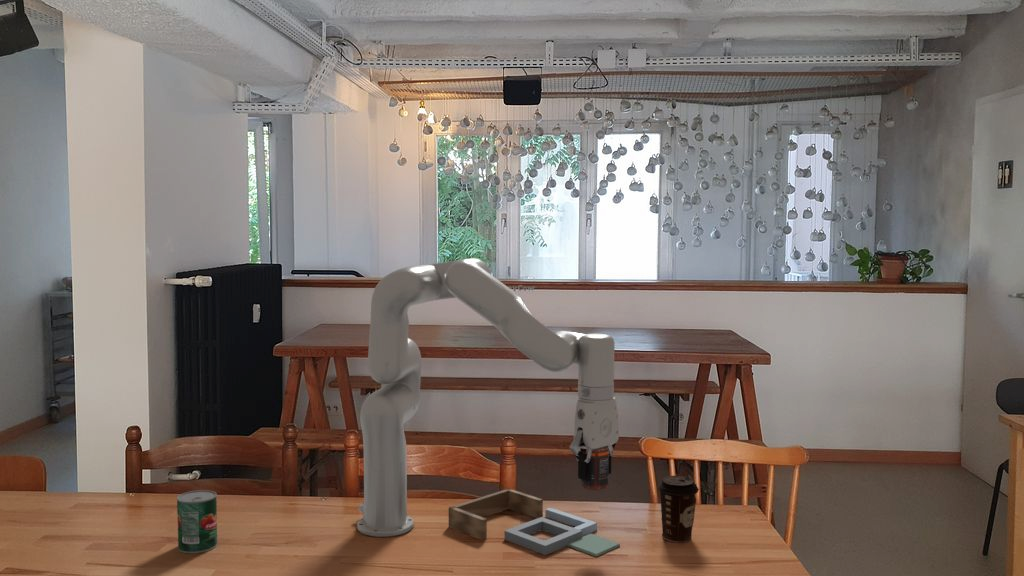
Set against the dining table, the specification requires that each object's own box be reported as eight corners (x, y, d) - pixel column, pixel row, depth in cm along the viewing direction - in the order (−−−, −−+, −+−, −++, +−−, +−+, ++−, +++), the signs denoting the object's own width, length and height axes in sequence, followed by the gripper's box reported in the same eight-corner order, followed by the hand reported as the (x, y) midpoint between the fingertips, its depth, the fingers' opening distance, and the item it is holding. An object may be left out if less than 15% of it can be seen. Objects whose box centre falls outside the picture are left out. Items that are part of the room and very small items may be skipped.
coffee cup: (699, 533, 185) (701, 476, 184) (695, 547, 177) (696, 487, 176) (660, 528, 188) (661, 472, 187) (654, 541, 180) (655, 483, 179)
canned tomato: (177, 542, 178) (176, 492, 177) (216, 537, 181) (215, 488, 180) (178, 556, 171) (177, 504, 170) (219, 550, 174) (217, 499, 173)
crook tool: (530, 522, 192) (530, 514, 192) (550, 514, 197) (550, 507, 196) (577, 538, 182) (577, 530, 182) (596, 530, 187) (597, 522, 187)
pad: (567, 546, 178) (567, 543, 178) (590, 536, 183) (590, 533, 183) (596, 556, 172) (596, 553, 172) (619, 546, 178) (619, 543, 178)
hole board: (504, 539, 181) (504, 530, 181) (541, 525, 189) (541, 516, 189) (545, 555, 173) (545, 545, 172) (582, 539, 181) (582, 530, 181)
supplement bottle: (612, 484, 178) (613, 433, 177) (603, 493, 173) (604, 439, 172) (586, 481, 181) (586, 430, 180) (576, 489, 175) (577, 436, 174)
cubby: (448, 526, 188) (448, 507, 188) (508, 506, 202) (508, 488, 202) (482, 540, 180) (482, 520, 180) (542, 518, 194) (542, 499, 194)
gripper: (583, 401, 166) (582, 489, 168) (634, 389, 179) (633, 471, 180) (555, 395, 171) (554, 481, 173) (606, 384, 184) (605, 464, 185)
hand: (594, 475), depth 176 cm, fingers closed on supplement bottle, 6 cm apart
